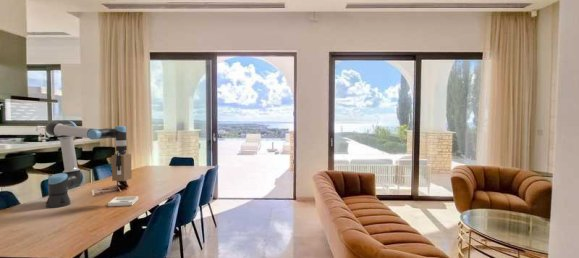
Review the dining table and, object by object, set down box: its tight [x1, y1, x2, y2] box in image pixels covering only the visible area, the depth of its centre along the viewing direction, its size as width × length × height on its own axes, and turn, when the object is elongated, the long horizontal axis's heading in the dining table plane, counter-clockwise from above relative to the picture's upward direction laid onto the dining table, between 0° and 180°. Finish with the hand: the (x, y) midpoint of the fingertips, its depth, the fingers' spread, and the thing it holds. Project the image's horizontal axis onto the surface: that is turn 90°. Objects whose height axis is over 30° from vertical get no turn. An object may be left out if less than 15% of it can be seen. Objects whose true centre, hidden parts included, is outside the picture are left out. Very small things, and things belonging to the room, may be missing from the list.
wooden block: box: [111, 153, 133, 182], centre depth 241 cm, size 10×10×20 cm
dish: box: [107, 195, 139, 208], centre depth 242 cm, size 17×17×3 cm
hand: (121, 173), depth 241 cm, fingers closed on wooden block, 11 cm apart
